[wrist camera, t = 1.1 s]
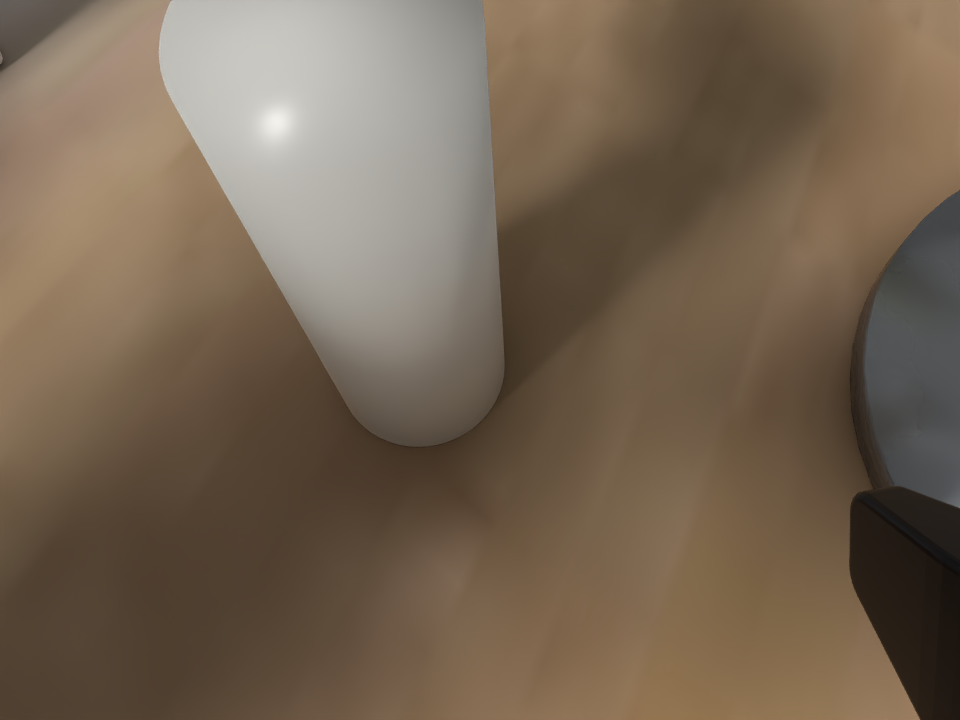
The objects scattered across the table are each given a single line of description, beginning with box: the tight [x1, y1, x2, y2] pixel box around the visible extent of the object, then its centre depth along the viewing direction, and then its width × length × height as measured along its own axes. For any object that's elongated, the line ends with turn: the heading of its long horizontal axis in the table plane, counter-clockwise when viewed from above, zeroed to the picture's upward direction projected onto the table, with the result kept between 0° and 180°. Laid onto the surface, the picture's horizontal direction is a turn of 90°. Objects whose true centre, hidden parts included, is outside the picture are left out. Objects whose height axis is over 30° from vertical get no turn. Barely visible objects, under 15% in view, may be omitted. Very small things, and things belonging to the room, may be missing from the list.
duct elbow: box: [159, 0, 505, 447], centre depth 18 cm, size 7×4×12 cm, turn 10°
